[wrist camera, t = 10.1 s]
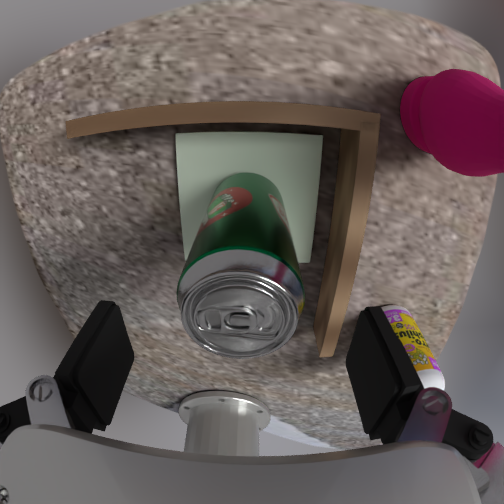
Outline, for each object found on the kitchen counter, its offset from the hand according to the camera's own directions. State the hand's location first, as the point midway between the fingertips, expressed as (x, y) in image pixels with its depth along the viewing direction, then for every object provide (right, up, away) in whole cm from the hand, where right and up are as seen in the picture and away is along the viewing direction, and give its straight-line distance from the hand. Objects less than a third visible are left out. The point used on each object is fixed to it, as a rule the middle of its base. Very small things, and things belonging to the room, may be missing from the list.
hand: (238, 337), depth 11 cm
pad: (0, +7, +10) cm, 13 cm away
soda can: (0, +7, +10) cm, 12 cm away
